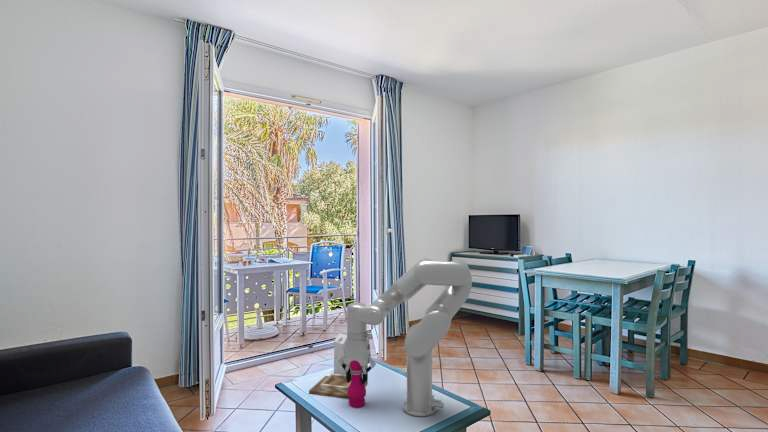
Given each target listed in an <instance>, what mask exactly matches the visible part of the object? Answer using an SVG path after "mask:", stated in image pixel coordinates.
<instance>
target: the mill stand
mask: <svg viewBox="0 0 768 432" xmlns="http://www.w3.org/2000/svg"><path fill="white" fill-rule="evenodd" d="M351 380H352V379H351ZM350 383H351V381H350V382H349V383H347V379H346V375H340V374H336V373H331V374H330V375H325V376H324V377H323V378H321V379H320V380H319V381H318V382H316V384H314V385H313V386H312V387H311V388H310V389H309V390H308V394H310V395H316V396H322V397H323V396H324V397H331V398H336V399H338V398H339V399H347V400H349V397H348V388H349V385H350ZM368 384H369V383H368V381H367V382H366V383H365V384H364V385H365V387H367V385H368Z"/></svg>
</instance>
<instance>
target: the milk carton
mask: <svg viewBox="0 0 768 432" xmlns="http://www.w3.org/2000/svg"><path fill="white" fill-rule="evenodd" d="M346 338H347V331H346V332H345V331H343V330H339V333H338V335H337V336H336V337H335V339H334V340H333V374H340V375H346V372H345V370H344V368H343V367H342V365H340V363H339V362H338V361H339V359H340V358H341V357H342V356H343V354H344V345H345V340H346ZM350 369H351V368H350Z"/></svg>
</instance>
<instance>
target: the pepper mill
mask: <svg viewBox="0 0 768 432" xmlns="http://www.w3.org/2000/svg"><path fill="white" fill-rule="evenodd" d="M349 366H350V367H351V369H350V370H351V371H350V373H351V374H352V380H351V383H350V385H349V388H348V397H349V399H348V405H349V407H352V408H358V409H359V408H362V407H364V406H365V404H366V398H365V397H366V395H367V389H366V386H365V385H363V384H362V374H363V369H362V367H361V366H360V363H359V362H358V361H355V360H353V361H351V362H350V365H349Z"/></svg>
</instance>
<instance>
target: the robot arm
mask: <svg viewBox="0 0 768 432" xmlns="http://www.w3.org/2000/svg"><path fill="white" fill-rule="evenodd" d="M428 285H429V286H445V287H446V288H445V289H444V290H443V291H442V293H440V295H439V296H438V297H437V299H435V300H434V302H433V303H432V304H431V305H430V306H429V307H427V310H426V311H425V313H424V316H423V317H422V318H421V320H420V321H419V322H418V323H414V324H413V325H411V326H410V327H409V328H408V330H407V333H406V335H405V339H404V350H405V352H406V400H405V401H404V402H403V403H402V410H403V412H405V413H406V414H408V415H410V416H415V417H428V416H431V415H433V414H434V413H436V411H437V409H444V408H445V402H442V399H436V398H435V395H434V394H433V350H434V348H435V347H436V346H437V345H438V344H439V343H440V341H441V340H442V339H443V338H444V337H445V336H446V334H447V333H448V331H449V330H450V328H451V324H452V319H453V318H454V316H455V315H456V314H457V312H459V310H460V309H461V307H462V306H463V305H464V304H465V302H466V301H467V300H468V298H469V296H470V295H471V294H470V293H471V292H472V285H473V278H472V273H471V271H470V267H469V265H468V264H467V262H465V260H463V259H460V258H455V259H452V260H451V261H435V260H433V259H431V258H428V257H427V258H422V259H420V260H419V261H418V262H416V263H415V264H414V265H413V266H411V268H410V269H408V270H407V271H406V272H404V274H403V275H402V276H400V277H399V278H398V279H397V280H395V282H394V283H392V285H391V286H390V287H389V288H388V289H387V290H385V291H384V292H383V293H382V294H381V295H380V296H378V297H377V298H376V299H375V300H374V301H372V303H371V304H369V305H366V303H363V302H359V301H358V302H351V303H349V304H348V305H347V306H346V307H347V308H346V333H347V338H346V340H345V345H344V354H343V356H342V357H341V358H340V359H339V361H338V362H339V363H340V365H342V367H343V368H344V370H345V372H346V379H347V383H349V382H350V381H351V379H352V374H351V373H350V371H351V370H350V368H351V367H350V366H349V365H350V362H351V361H353V360H355V361H358V362H359V363H360V366H361V367H362V369H363V373H362V384H363V385H364V384H365V383H366V382H367V381H368V380H369V379H368V377H369V376H368V375H369V372H370V371H371V370H372V369H373V368H375V367H376V365H377V364H376V362H375V360H374V359H373V358H372V356H371V355H372V353H371V352H372V351H371V344H370V336H371V333H369V332H368V330H367V325H370V326H378V325H381V324H382V323H383V322H384V321H385V319H386V317H387V316H388V315H389V314H390V313H391V312H392V311H393V310H394V309H396V308H397V307H398V306H400V305H401V304H402V303H404V302H406V301H409V300H411V299H412V298H413V297H414V296H416V294H417V293H418V292H420V291H421V290H423V289H424V287H426V286H428ZM368 364H370V365H368Z"/></svg>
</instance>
